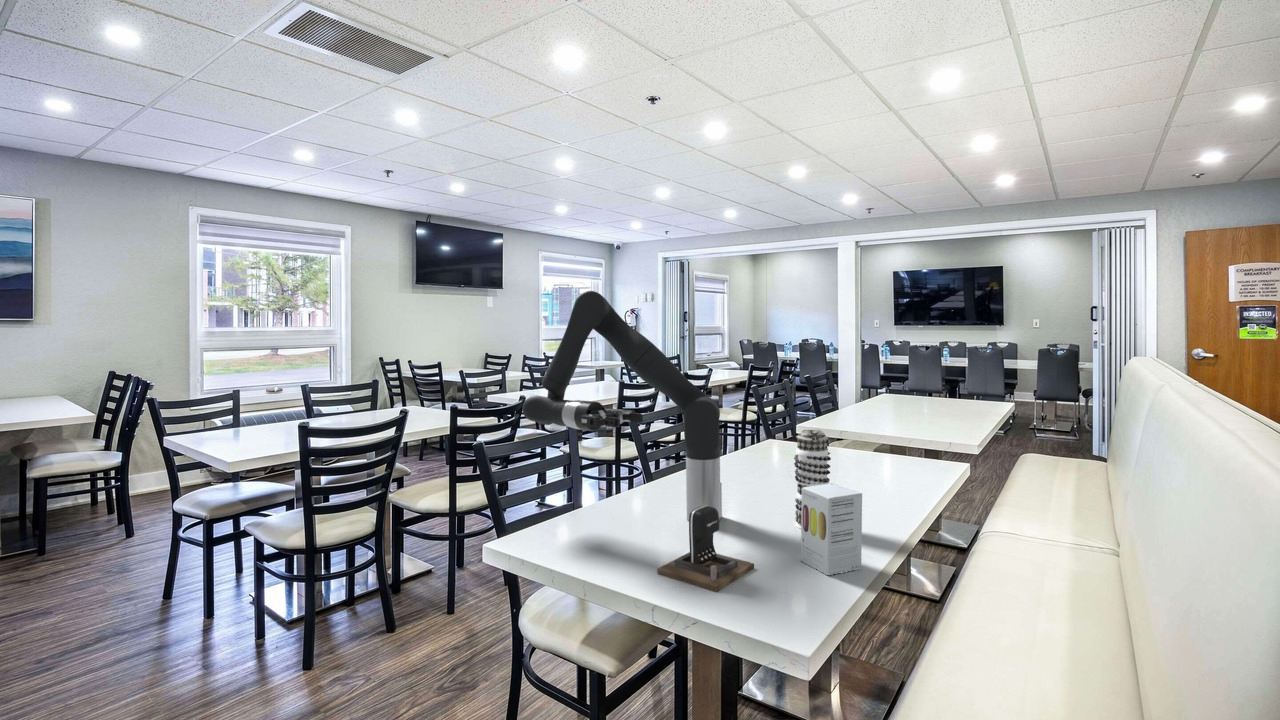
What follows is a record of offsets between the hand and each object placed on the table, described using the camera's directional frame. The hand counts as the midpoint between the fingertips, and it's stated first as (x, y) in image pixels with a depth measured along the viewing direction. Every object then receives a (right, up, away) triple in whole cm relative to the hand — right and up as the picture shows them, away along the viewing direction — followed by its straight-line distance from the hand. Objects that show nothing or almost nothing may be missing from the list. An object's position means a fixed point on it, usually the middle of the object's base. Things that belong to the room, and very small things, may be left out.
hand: (630, 420), depth 149 cm
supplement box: (+44, -30, -15) cm, 56 cm away
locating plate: (+17, -31, -17) cm, 39 cm away
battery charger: (+16, -29, -17) cm, 37 cm away
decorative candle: (+47, -29, +11) cm, 56 cm away
